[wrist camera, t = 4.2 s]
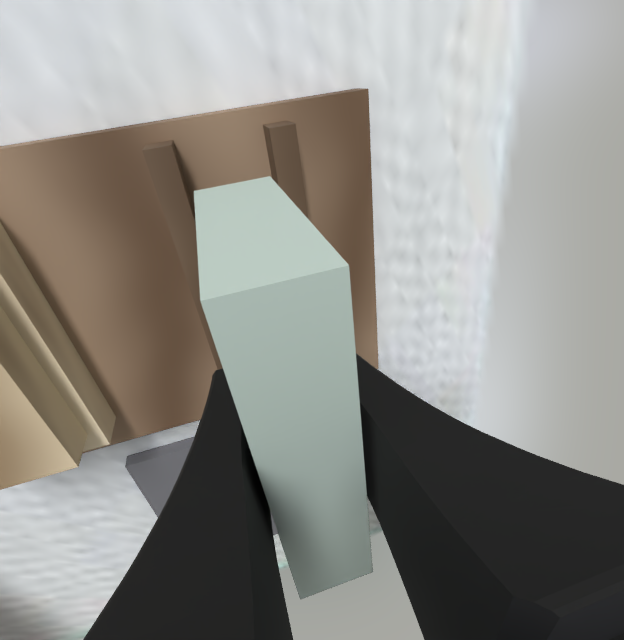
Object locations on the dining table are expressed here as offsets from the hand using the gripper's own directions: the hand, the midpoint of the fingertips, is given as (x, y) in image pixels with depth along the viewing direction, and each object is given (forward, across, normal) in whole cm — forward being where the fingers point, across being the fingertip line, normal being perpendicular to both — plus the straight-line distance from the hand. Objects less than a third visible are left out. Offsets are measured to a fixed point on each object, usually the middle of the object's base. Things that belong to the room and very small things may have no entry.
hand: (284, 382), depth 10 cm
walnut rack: (+7, +4, 0) cm, 8 cm away
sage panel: (+3, 0, 0) cm, 3 cm away
